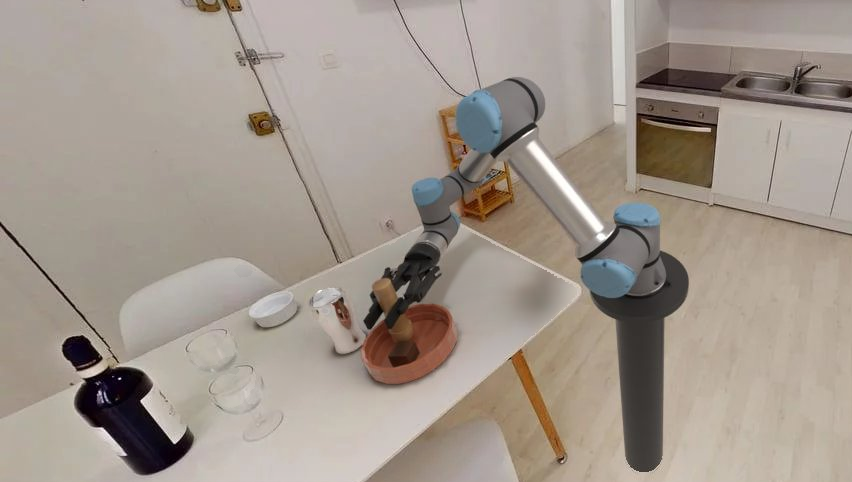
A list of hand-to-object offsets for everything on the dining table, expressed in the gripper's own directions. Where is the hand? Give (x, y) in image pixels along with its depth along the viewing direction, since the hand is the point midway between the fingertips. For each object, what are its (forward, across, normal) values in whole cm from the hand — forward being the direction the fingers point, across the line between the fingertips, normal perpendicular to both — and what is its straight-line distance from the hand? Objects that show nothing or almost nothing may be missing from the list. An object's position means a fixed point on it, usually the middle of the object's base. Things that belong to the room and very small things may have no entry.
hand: (377, 324), depth 86 cm
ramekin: (-15, +37, -12) cm, 41 cm away
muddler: (-5, 0, -10) cm, 11 cm away
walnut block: (0, -3, -11) cm, 12 cm away
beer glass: (-5, +13, -12) cm, 18 cm away
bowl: (-3, -3, -12) cm, 12 cm away
